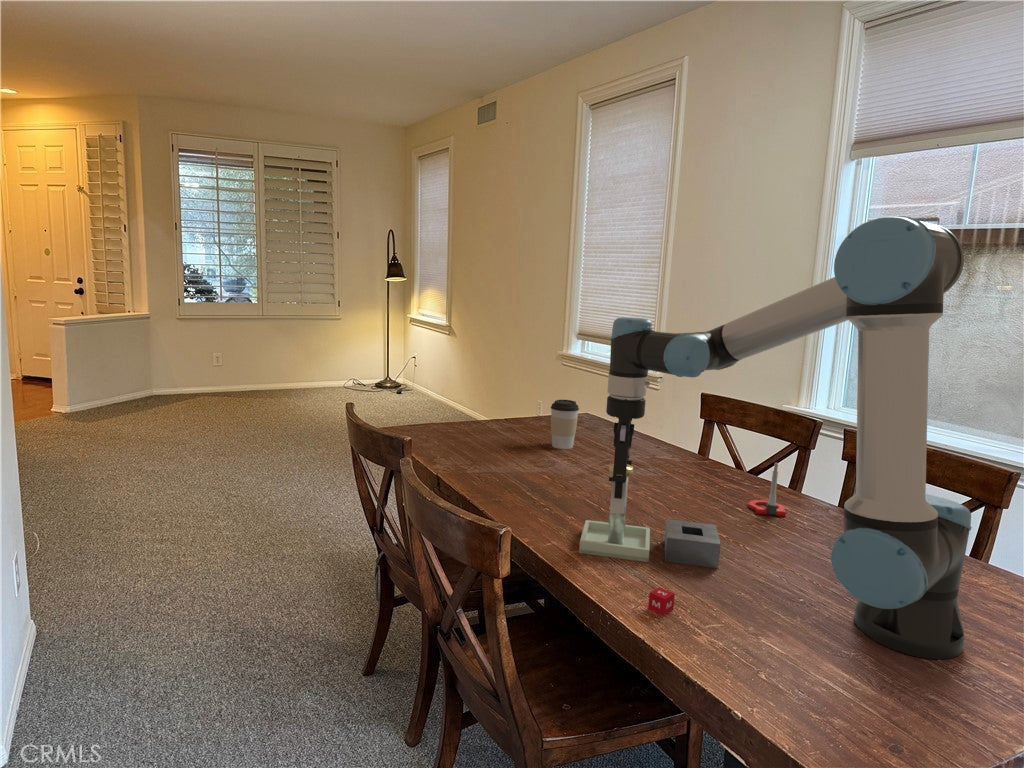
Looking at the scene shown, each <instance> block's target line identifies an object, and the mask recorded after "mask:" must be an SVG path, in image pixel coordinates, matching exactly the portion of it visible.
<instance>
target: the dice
mask: <svg viewBox="0 0 1024 768" xmlns="http://www.w3.org/2000/svg"><path fill="white" fill-rule="evenodd" d="M675 597H676V596H675V592H673V591H671V590H670V591H669V590H667V589H665V588H663V587H660V586H659V587H657V588H655V589H653V590H651V591H649V596H648V606H647V607H648V608H647V609H648V610H651V611H653V612H655V613H656V614H659V615H661V616H665V615H667V614H668V613H670V612H672V611H673V610H674V605H675Z"/></svg>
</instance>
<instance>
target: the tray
mask: <svg viewBox="0 0 1024 768" xmlns="http://www.w3.org/2000/svg"><path fill="white" fill-rule="evenodd" d="M608 530H609V522H605V521H597V520H590V519H589V520H588V519H585V523H584V525H583V528H582V532H581V537H580V540H579V549H578V553H579V554H585V555H590V556H591V555H593V556H600V557H607V558H615V559H621V560H622V559H623V560H630V561H637V562H645V563H649V560H650V559H649V558H650V549H651V548H650V544H651V543H650V542H651V541H650V540H651V539H650V538H651V537H650V536H651V535H650V534H651V527H648V526H637V525H631V524H625V528H624V541H623V544H622V545H618V544H610V543H608Z"/></svg>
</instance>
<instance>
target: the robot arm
mask: <svg viewBox="0 0 1024 768" xmlns="http://www.w3.org/2000/svg"><path fill="white" fill-rule="evenodd" d="M834 257H835V258H834V262H833V263H834V264H833V272H834V276H833V277H832V278H829V279H826V280H824V281H822V282H820V283H817V284H815V285H812V286H810V287H808V288H805V289H803V290H801V291H799V292H797V293H794V294H791V295H789V296H787V297H784V298H782V299H781V300H778V301H775V302H773V303H771V304H768V305H766V306H763V307H761V308H760V309H756V310H755V311H752V312H749V313H748V314H746V315H745V314H744V315H742V316H740V317H738V318H736V319H734V320H731V321H729V322H726V323H725V324H722V325H720V326H717V327H715V328H713V329H710V330H707V331H697V332H696V331H695V332H677V333H675V332H664V331H655V330H653V325H652V324H653V323H652V320H650V319H648V318H644V317H643V318H642V317H623V316H622V317H618V318H616V319H615V320H614V321H613V324H612V331H611V336H610V357H609V359H610V360H609V370H608V371H609V372H608V378H607V394H609V395H608V396H607V398H606V408H605V409H606V411H605V412H606V414H607V415H608V416H610V417H611V418H612V417H613V418H617V419H618V421H617V422H614V425H613V436H614V437H613V447H614V457H613V463H614V468H613V477H612V476H611V477H608V482H611V488H612V490H610V492H611V493H610V502H611V504H610V506H609V514H610V513H618V514H624V506H625V493H626V471H627V464H628V465H631V466H633V465H632V463H633V461H632V460H630V450H631V448H632V442H633V437H634V434H635V424H634V423H632V421H633V420H638V419H642V418H643V417H645V415H646V414H645V412H646V402H647V401H646V399H645V398H644V397H645V396H646V395H647V387H650V385H651V382H650V381H649V380H648V375H649V374H648V373H649V371H651V372H658V373H662V374H668V375H671V376H672V375H673V376H676V377H679V378H682V377H683V378H684V377H685V378H698V377H699V376H700V375H701V374H702V373H704V372H705V371H713V370H715V371H720V370H721V371H722V370H723V369H727V368H730V367H732V366H734V365H735V364H737V363H738V362H739V361H741V360H743V359H744V360H745V359H747V358H749V357H752V356H754V355H758V354H760V353H763V352H766V351H768V350H771V349H774V348H776V347H780V346H782V345H785V344H787V343H790V342H794V341H795V340H799V339H801V338H804V337H806V336H809V335H811V334H812V335H813V334H814V333H818V332H820V331H822V330H825V329H828V328H831V327H834V326H836V325H838V324H842V323H845V322H847V321H849V322H850V323H851V324H852V325H853V326H854V327H855V328H856V329H857V388H856V389H857V394H856V395H857V397H856V398H857V399H856V400H857V401H856V405H857V406H856V458H855V459H856V463H855V466H856V467H855V468H856V469H855V470H856V474H855V477H856V478H855V479H856V481H855V484H856V485H855V493H854V495H852V496H851V497H849V498H848V499H847V500H846V501H845V502H844V503H843V504H844V508H843V532H842V533H841V535H839V536H838V537H837V538H836V540H835V542H834V544H833V546H832V549H831V552H830V558H831V559H830V561H831V567H832V570H833V573H834V575H835V577H836V578H837V580H838V582H839V583H840V584H841V586H843V587H844V588H845V590H847V592H848V593H849V594H850V595H852V596H853V597H854V598H856V599H857V603H856V605H855V609H854V610H855V611H854V616H853V619H854V624H855V625H856V626H857V628H858V629H859V630H860V631H861V632H862V633H864V634H865V635H866V636H867V637H868V638H870V639H871V640H874V641H875V642H877V643H879V644H881V646H882V645H883V646H884V647H887V648H889V649H892V650H894V651H897V652H899V653H903V654H906V655H910V656H912V657H913V656H914V657H918V658H923V659H931V660H948V659H952V658H957V657H958V656H959V655H961V654H962V653H963V648H964V644H965V631H964V625H963V622H962V617H961V616H962V615H961V612H960V607H959V603H958V598H959V591H960V585H961V579H962V573H963V569H964V563H965V557H966V553H967V549H968V548H967V546H968V541H969V535H970V532H971V530H972V526H971V524H972V513H971V511H970V509H969V508H967V507H966V506H965V505H963V504H961V503H958V502H956V501H953V500H951V499H948V498H944V497H940V496H937V495H933V494H928V493H926V489H927V488H926V485H927V484H926V483H927V447H928V446H927V445H928V444H927V443H928V441H927V439H928V408H929V407H928V405H929V404H928V403H929V402H928V401H929V400H928V399H929V360H930V359H929V356H930V355H929V353H930V351H929V350H930V329H931V327H932V326H933V325H934V324H935V323H936V322H937V321H938V320H939V319H940V318H941V317H943V315H944V294H945V293H947V292H948V291H949V290H950V289H951V288H952V287H953V286H955V284H957V281H958V280H959V279H960V277H961V275H962V272H963V268H964V265H965V254H964V249H963V246H962V244H961V242H960V240H959V238H957V237H956V235H955V234H954V233H953V232H951V231H950V230H949V229H947V228H946V227H943V226H941V225H938V224H936V223H932V222H926V221H925V222H924V221H921V220H918V219H916V218H914V217H911V216H906V215H899V216H893V215H892V216H881V217H877V218H873V219H870V220H868V221H865V222H864V223H861V224H860V225H858V226H857V227H856V228H854V229H853V230H852V231H851V232H850V233H849V234H848V235H847V236H846V237H844V239H843V241H842V242H841V244H840V245H839V248H838V249H837V251H836V255H835V256H834ZM620 475H623V476H620Z"/></svg>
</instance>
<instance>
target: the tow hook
mask: <svg viewBox="0 0 1024 768" xmlns="http://www.w3.org/2000/svg"><path fill="white" fill-rule="evenodd" d="M778 468H779V462H774V467H773V471H772V474H771V475H772V476H771V484H770V493H769V495H768V500H761V499H754V500H750V501H748V507H749V508H750V509H751V510H754V511H755V514H757V515H764V514H765V515H766V516H770V515H772V516H773V517H784V516H785V517H786V515H787V512H786V507H785V506H784V505H782V504H780V503H777V485H778V477H779V471H778ZM759 504H764V506H765V508H764V507H762V506H760V505H759ZM777 508H778V509H777ZM765 515H764V516H765Z"/></svg>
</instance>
